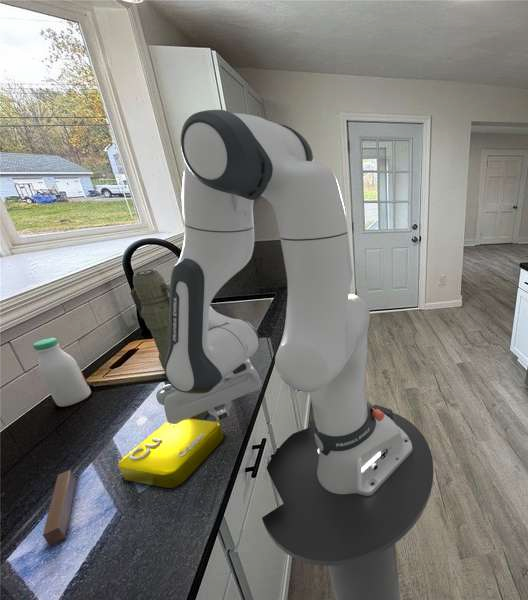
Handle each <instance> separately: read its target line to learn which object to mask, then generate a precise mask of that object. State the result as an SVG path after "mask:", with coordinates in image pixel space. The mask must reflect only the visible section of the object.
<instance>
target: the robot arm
mask: <svg viewBox="0 0 528 600" xmlns="http://www.w3.org/2000/svg"><path fill="white" fill-rule="evenodd" d="M180 149H181V154H182V157H183V161H184V163H185V166H184V169H183V175H182V184H181V185H182V186H181V206H182V210H181V211H182V220H183V221H182V222H183V230H184V232H183V233H184V234H183V244H182V249H181V252H180V256H179V258H178V261H177V262H176V264H175V265H174V267H173V268H172V271H171V275H170V284H169V285H170V295H169V297H170V315H169V347H168V352H167V355H166V360H165V371H164V374H165V375H164V376H165V378H166V379H167V381H168V383H167V384H165V385H163V386H162V387H161V388H160V389H159V390H158V391H157V392H156V395H155V397H156V400H157V402H158V404H159V405H161V406H163V409H164V413H165V417H166V420H167V421H168V423H171V424H176V423H179V422H181V421H183V420H186V419H188V418H191V417H193V416H195V415H198V414H200V413H203V412H205V411H207V410H208V414H209V415H211V416H212V417H215V419H216V422H219V421H222V420H224V419H226V418H229V417H230V409H231V407H232V401H234V400H236V399H239V398H241V397H245V396H246V395H248V394H251V393H253V392H256V391H258V390H260V389H261V387H262V381H261V378H260V376H259V373H258V371H257V370H256V368H255V367H254V365H253V364H252V362H251V360H250V358H252V356H254V355H255V354H256V353H257V352H258V351H259V348H260V337H259V334H258V331H257V329H256V328H255V327H254V326H253V325H252V324H251V323H250V322H249V321H247V320H245V319H242V318H233V317H229V316H227V315H224V314H221V313H219V312H217V311H216V310H215V309H214V308H213V307H212V306H211V303H212V301H213V300H214V298H215V296H216V295H217V293H218V292H219V291H220V289H222V287H223V286H224V285H225V284H226V283H228V281H230V280H231V278H233V277H234V276H235V275H237V273H239V272H240V271H241V270H243V269H244V268H245V267H246V266H247V265H248V263H249V262H250V260H251V258H253V257H252V256H253V253H254V249H255V248H254V247H255V222H254V221H255V220H254V202H255V201H256V200H258V199H259V198H260V197H262V198H264V199H266V201H267V202H269V204H270V205H271V206H272V208H273V210H274V213H275V216H276V221H277V226H278V227H277V228H278V234H279V240H280V246H281V250H282V256H283V261H284V268H285V274H286V281H287V299H286V312H285V321H284V322H285V323H284V328H283V333H282V336H281V341H280V343H279V346H278V349H277V351H276V354H275V358H274V364H275V368H276V371H277V373H278V375H279V377H280V378H281V379H282V381H283V382H284V383H285V384H286V385H288V386H289V387H290V388H292V389H294V390H297V391H299V392H303V393H309V398H310V404H311V407H312V412H313V420H314V431H315V439H316V443H317V446H318V448H319V449H318V453H319V463H318V468H317V477H318V480H319V482H320V484H321V485H322V486H323V487H324V488H325V489H326V490H328V491H330V492H332V493H336V494H352V493H358V494H361V495H365V496H370V495H372V494H373V493H374V492H375V491H376V490H377V489H378V488H379V487H380V486H381V485H382V484H383V483H384V482H385V481H386V479H387V478H388V477H389V476H390V475H391V474H392V473H393V472H394V471H395V470H396V469H397V468H398V467H399V465H400V464H401V463H402V462H403V461H404V460H405V459H406V458H407V457H408V456H409V455H410V454H411V452H412V451H413V449H412V444H411V441H410V439H409V437H408V436H407V435H406V433H405V432H404V431H403V430H402V429H401V428H399V427H398V426H397V425H396V424H395V423H394V422H393V420H392V419H393V413H394V412H393V409H390V408H387V407H384V406H381V405H378V404H374V405H373V404H372V403H371V402H369V401H367V393H366V366H367V353H368V352H367V351H368V335H369V334H368V332H369V326H370V322H371V311H370V308H369V306H368V304H367V303H366V302H365V301H364V300H363V299H362V298H361V297H360V296H358V295H356V294H352V293H350V288H351V284H352V280H353V265H352V256H351V247H350V238H349V231H348V222H347V216H346V215H347V214H346V211H345V205H344V201H343V197H342V193H341V189H340V186H339V183H338V180H337V177H336V175H335V174H334V172H333V171H332V170H331V168H329V167H327V166H326V165H324V164H322V163H320V162H317V161H314V154H313V151H312V148H311V145H310V144H309V142H308V141H307V140H306V138H305V137H304V136H303V135H302V134H301V133H299V132H298V131H296V130H295V129H293V128H292V127H290V126H289V125H285V124H281V123H280V124H279V123H276V122H273V121H270V120H268V119H266V118H264V117H261V116H259V115H258V116H257V115H253V114H247V113H242V112H241V113H238V112H231V111H229V110H224V109H206V110H202V111H198V112H195V113H192V114H191V115H190V116H189V117H188V118H187V119H185V121H184V123H183V126H182V128H181V132H180ZM222 405H224V407H223V408H222V409H219V410H216V409H215V408H217V407H220V406H222ZM167 421H166V422H167ZM372 484H374V485H373V486H372Z"/></svg>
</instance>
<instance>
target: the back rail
mask: <svg viewBox="0 0 528 600" xmlns="http://www.w3.org/2000/svg"><path fill="white" fill-rule="evenodd" d="M76 483H77V478H76V476H75V474H74V473H73V471H72V469H68V470H66V471H64V472H61V473H58V474H57V476H56V481H55V484H54V489H53V492H52V497H51V501H50V504H49V508H48V513H47V517H46V521H45V524H44V528H43V533H42V537H43V539H44V540H45V541H46V542H47V544H48V545H49V546H50V547H52V546H54V545H55V544H57V543H60V542H61V541H63V540H66V539H67V533H68V527H69V522H70V516H71V511H72V506H73V501H74V495H75V491H76V490H75V489H76Z"/></svg>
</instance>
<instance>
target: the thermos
mask: <svg viewBox="0 0 528 600" xmlns="http://www.w3.org/2000/svg"><path fill="white" fill-rule="evenodd" d="M132 285H133V288H132V289H131V291H130V295H131V298H132V301H133V303H134V305H135V307H136V309H137V312H138V315H139V317H140V318H141V319H143V321H144V323H145V326H146V328H147V329H148V330H149V331H150V334H151V336H152V339H153V342H154V344H155V346H156V349H157V351H158V360H159V363H160V365H161V368H162V369H163V370H164V372H165V360H166V355H167V352H168V347H169V315H170V284H167V283H166V281H165V279H164V277H163V275H162V274H161V273H160V272H159V271H158V270H155V269H145V270H141V271H138V272H135V273H134V274H133V275H132Z"/></svg>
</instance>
